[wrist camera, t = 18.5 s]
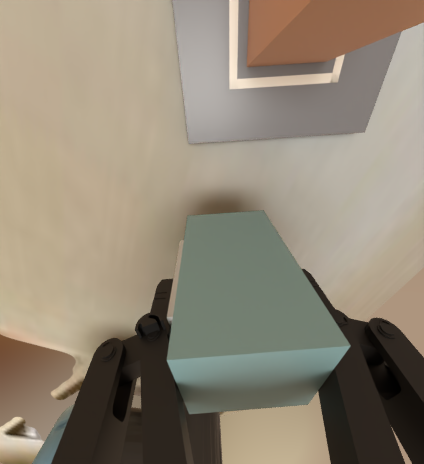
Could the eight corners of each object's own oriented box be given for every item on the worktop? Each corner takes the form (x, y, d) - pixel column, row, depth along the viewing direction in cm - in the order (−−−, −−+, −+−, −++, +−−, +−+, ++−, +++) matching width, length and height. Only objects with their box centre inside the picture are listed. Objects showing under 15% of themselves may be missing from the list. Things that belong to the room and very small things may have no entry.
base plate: (353, 130, 18) (364, 132, 16) (189, 141, 18) (188, 143, 16) (479, -247, 9) (525, -307, 8) (149, -226, 9) (140, -282, 7)
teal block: (257, 266, 18) (307, 404, 9) (195, 270, 17) (189, 414, 9) (263, 210, 14) (351, 346, 6) (187, 215, 14) (166, 360, 6)
